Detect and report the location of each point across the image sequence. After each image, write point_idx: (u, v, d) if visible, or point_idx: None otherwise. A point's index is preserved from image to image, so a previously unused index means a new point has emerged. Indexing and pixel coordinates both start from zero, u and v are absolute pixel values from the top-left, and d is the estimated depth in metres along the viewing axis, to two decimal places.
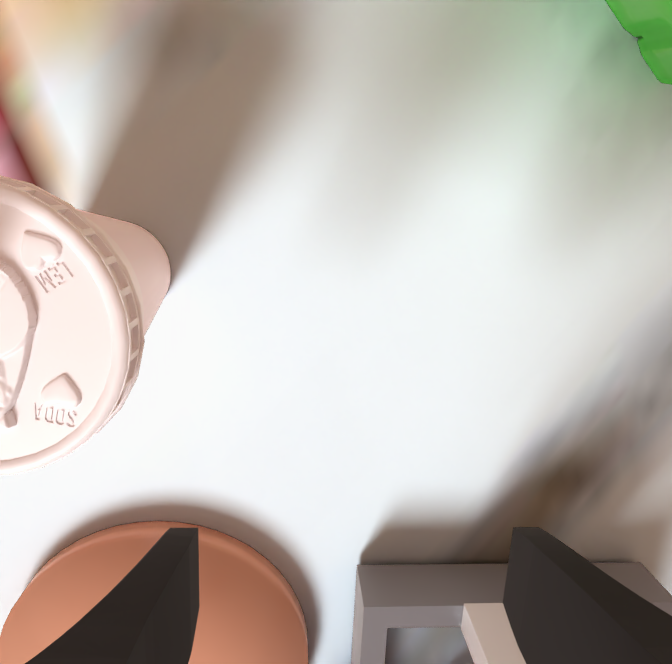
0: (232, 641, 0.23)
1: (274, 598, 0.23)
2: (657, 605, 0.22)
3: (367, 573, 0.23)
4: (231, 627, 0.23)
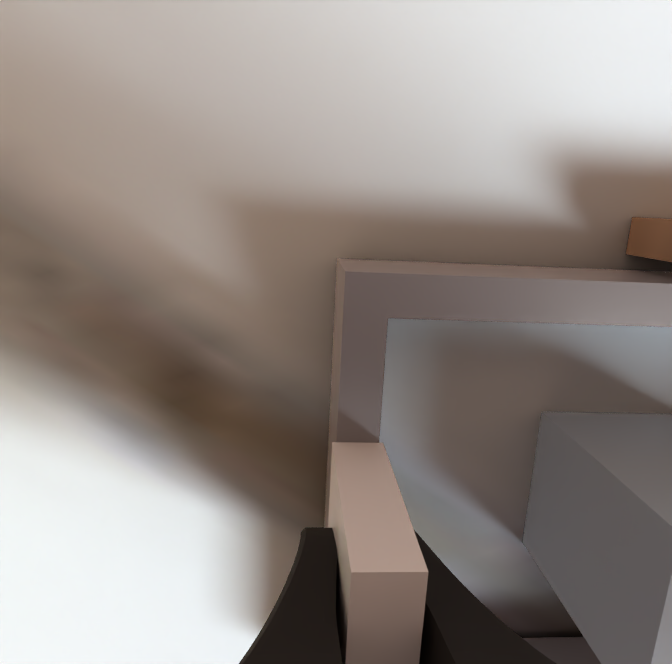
0: None
1: None
2: (349, 310, 0.12)
3: None
4: None
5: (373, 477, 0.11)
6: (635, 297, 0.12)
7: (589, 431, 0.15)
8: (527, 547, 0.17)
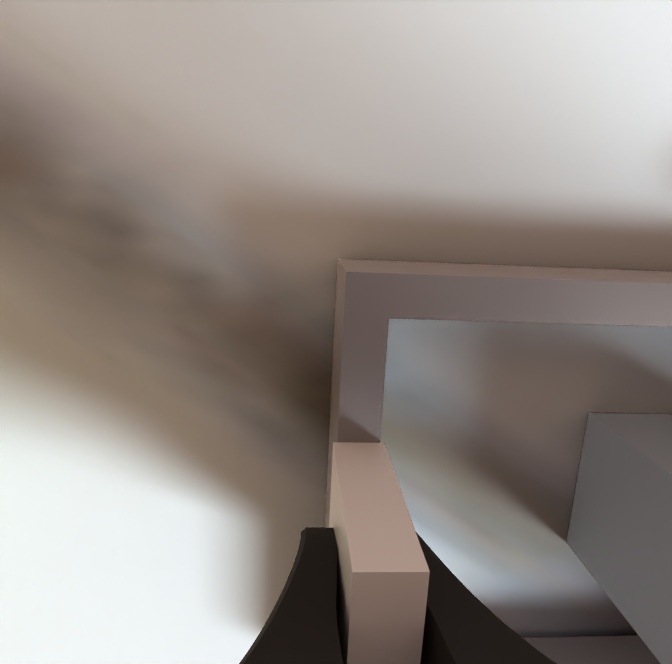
0: None
1: None
2: (350, 310, 0.12)
3: None
4: None
5: (374, 477, 0.11)
6: (636, 297, 0.12)
7: (640, 432, 0.15)
8: (573, 548, 0.17)
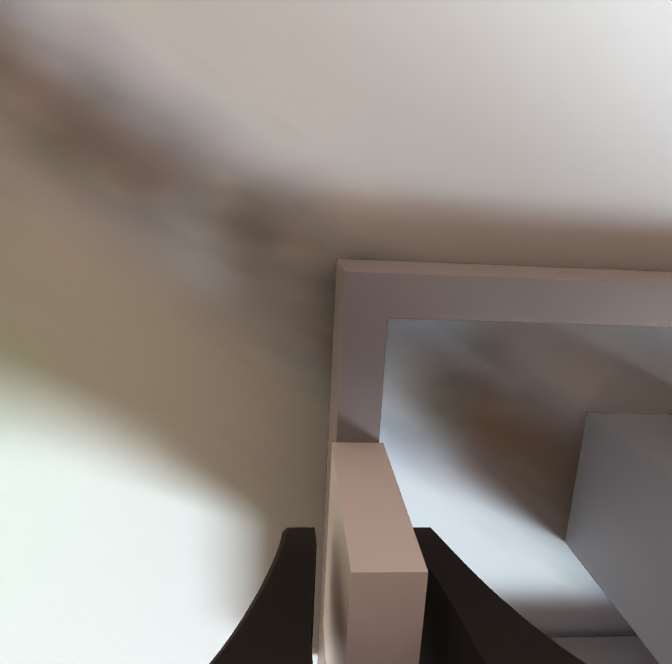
0: None
1: None
2: (349, 310, 0.12)
3: None
4: None
5: (373, 477, 0.11)
6: (635, 297, 0.12)
7: (638, 432, 0.15)
8: (571, 547, 0.17)
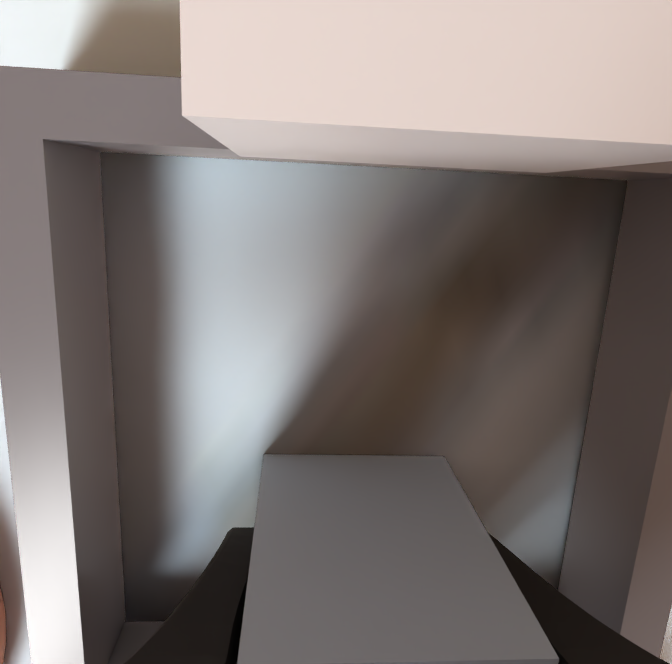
0: None
1: None
2: None
3: None
4: None
5: None
6: None
7: None
8: (266, 462, 0.12)
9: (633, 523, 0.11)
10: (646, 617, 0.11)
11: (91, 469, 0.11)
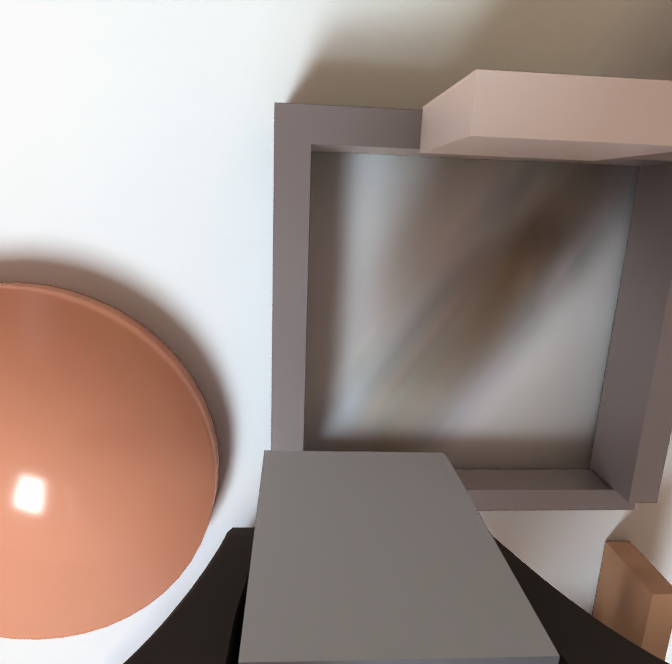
0: (114, 439, 0.18)
1: (166, 380, 0.18)
2: None
3: None
4: (112, 419, 0.18)
5: None
6: None
7: None
8: (266, 458, 0.12)
9: (645, 383, 0.17)
10: (653, 446, 0.18)
11: None
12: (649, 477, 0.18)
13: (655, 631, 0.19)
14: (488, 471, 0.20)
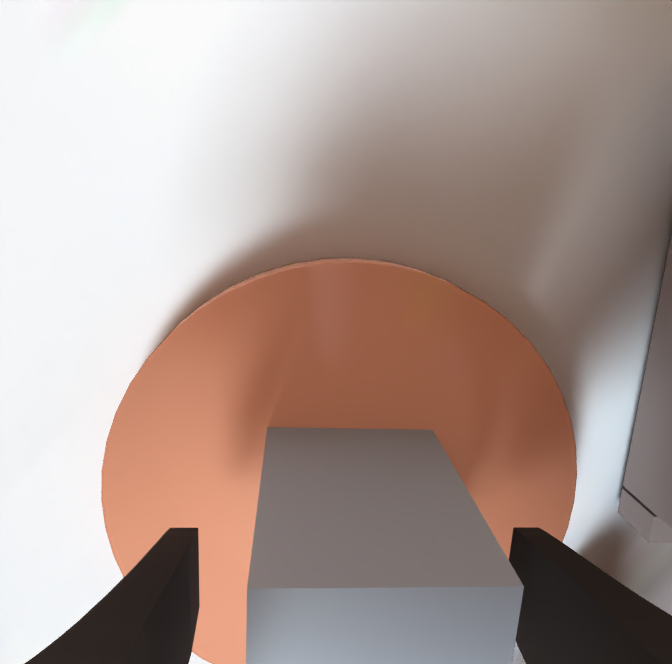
0: (466, 452, 0.15)
1: (540, 380, 0.14)
2: None
3: None
4: (468, 428, 0.15)
5: None
6: None
7: None
8: (269, 433, 0.14)
9: None
10: None
11: None
12: None
13: None
14: None
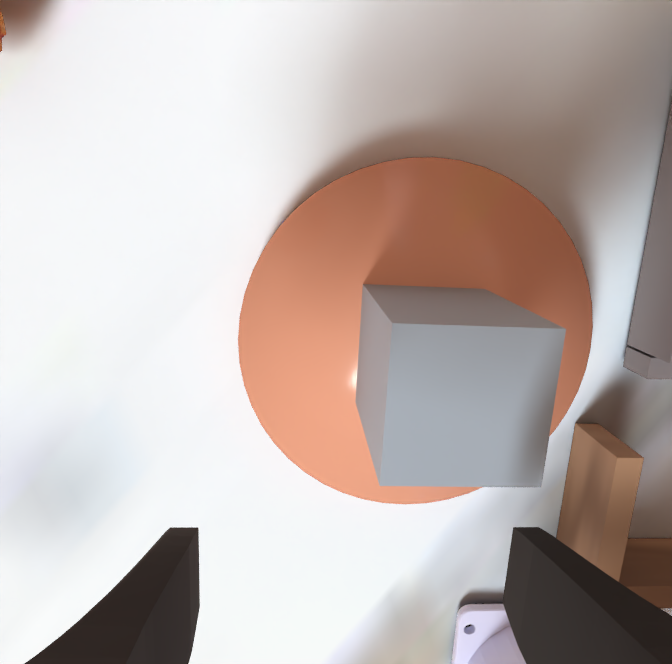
0: None
1: (565, 250, 0.19)
2: None
3: None
4: (511, 288, 0.19)
5: None
6: None
7: None
8: (366, 286, 0.19)
9: None
10: None
11: None
12: None
13: None
14: None
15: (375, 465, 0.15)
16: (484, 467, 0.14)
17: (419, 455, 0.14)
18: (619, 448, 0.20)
